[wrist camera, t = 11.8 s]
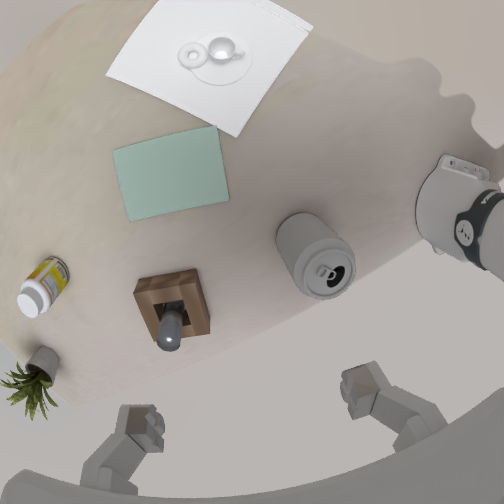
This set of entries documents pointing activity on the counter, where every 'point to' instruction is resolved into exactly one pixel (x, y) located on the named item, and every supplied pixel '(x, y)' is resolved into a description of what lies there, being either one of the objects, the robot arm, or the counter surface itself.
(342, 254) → the can
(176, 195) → the mat
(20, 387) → the house plant
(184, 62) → the teacup and saucer
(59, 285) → the supplement bottle
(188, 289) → the hole block
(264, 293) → the counter surface
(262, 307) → the counter surface
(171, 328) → the pin
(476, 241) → the robot arm
